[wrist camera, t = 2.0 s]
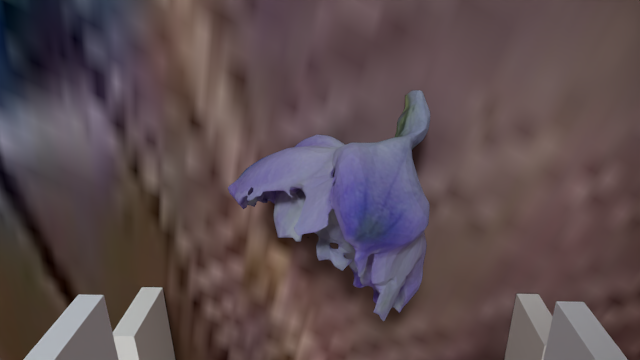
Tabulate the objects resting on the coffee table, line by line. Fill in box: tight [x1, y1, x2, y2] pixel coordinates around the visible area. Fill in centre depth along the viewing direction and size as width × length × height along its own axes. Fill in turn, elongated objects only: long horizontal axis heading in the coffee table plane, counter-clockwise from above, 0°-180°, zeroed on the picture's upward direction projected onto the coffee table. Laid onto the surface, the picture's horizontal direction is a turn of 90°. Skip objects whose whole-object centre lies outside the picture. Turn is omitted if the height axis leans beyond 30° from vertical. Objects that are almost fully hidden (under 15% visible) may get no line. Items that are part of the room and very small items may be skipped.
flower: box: [228, 90, 430, 321], centre depth 20 cm, size 9×9×10 cm
